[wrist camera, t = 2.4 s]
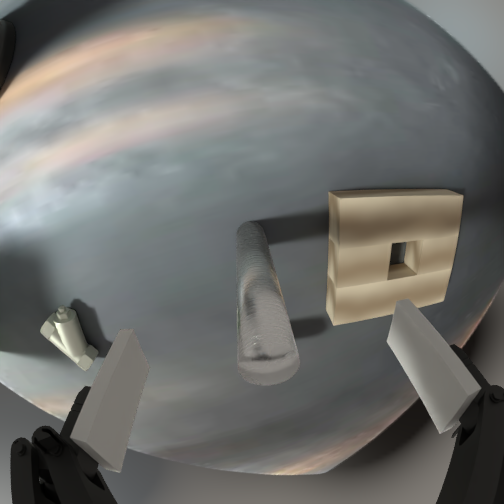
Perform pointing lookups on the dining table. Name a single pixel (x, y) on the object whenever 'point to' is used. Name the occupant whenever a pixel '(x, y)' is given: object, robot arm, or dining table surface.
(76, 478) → the robot arm
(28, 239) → the dining table surface
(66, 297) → the dining table surface
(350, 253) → the hole plate
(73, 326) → the pipe fitting
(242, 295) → the long pin
